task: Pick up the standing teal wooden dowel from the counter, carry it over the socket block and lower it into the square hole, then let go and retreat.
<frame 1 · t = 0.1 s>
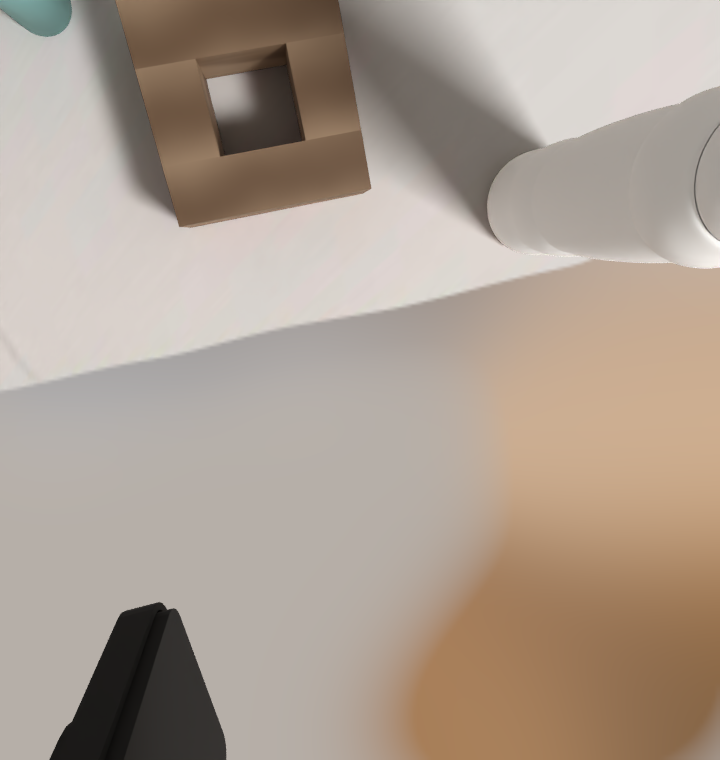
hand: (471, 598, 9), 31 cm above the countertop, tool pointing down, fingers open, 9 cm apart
socket block: (256, 115, 34), on the countertop
water bottle: (528, 204, 38), on the countertop
dowel: (41, 4, 31), on the countertop
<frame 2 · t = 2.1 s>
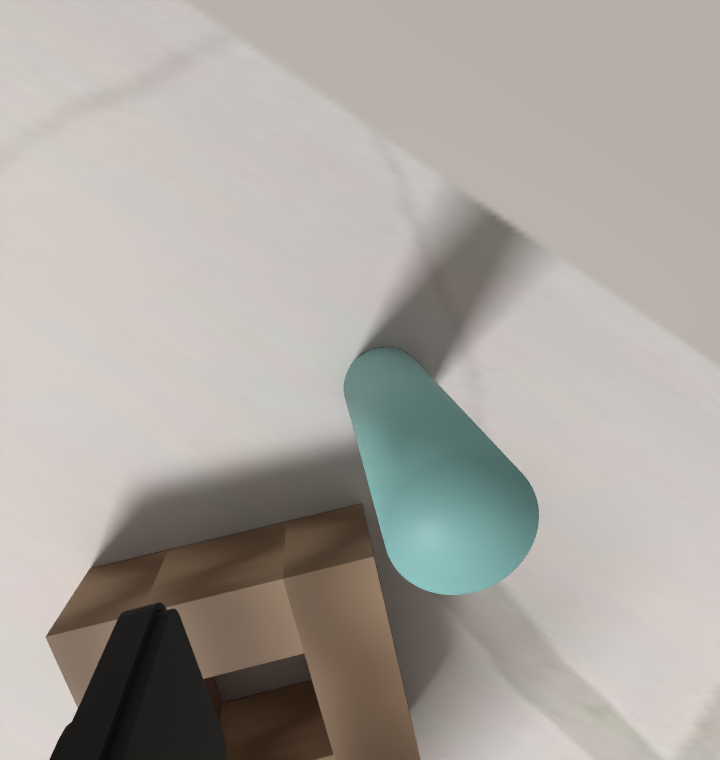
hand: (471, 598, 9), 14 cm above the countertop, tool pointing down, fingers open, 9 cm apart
socket block: (262, 646, 24), on the countertop
dowel: (384, 387, 22), on the countertop
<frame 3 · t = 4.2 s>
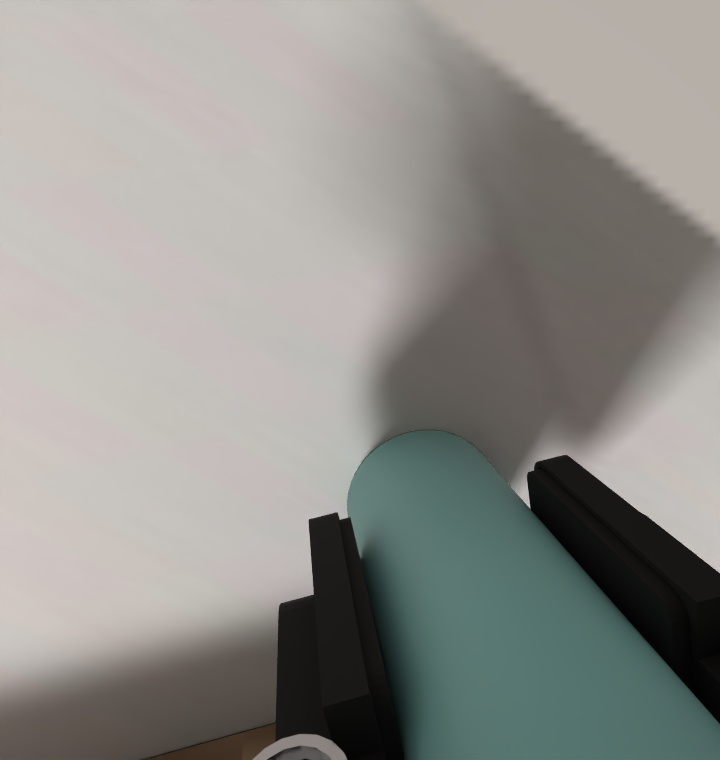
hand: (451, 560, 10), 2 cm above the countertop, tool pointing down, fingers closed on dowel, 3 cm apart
dowel: (422, 500, 12), on the countertop, touching gripper
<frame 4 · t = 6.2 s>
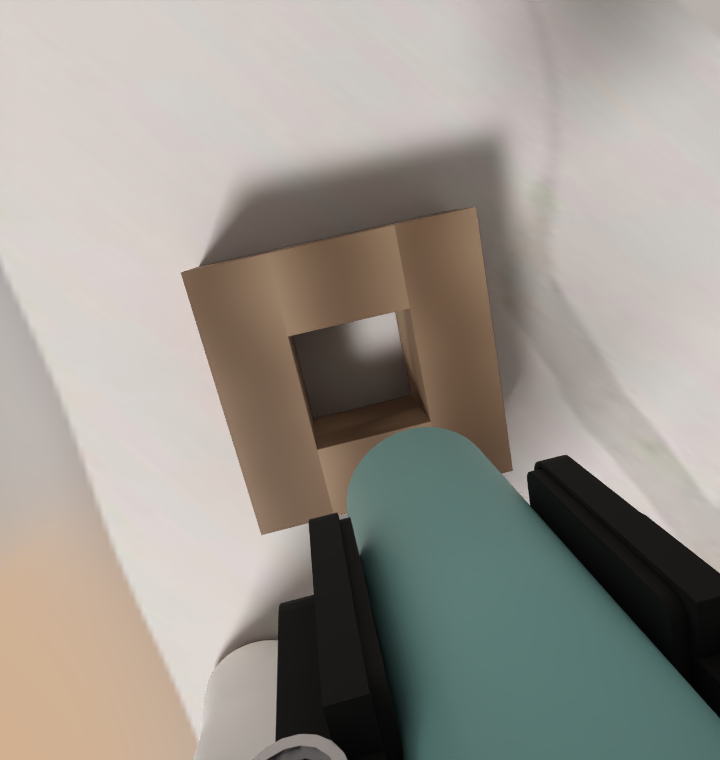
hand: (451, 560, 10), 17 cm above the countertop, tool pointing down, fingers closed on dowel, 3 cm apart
socket block: (352, 359, 26), on the countertop
water bottle: (268, 680, 31), on the countertop
dowel: (421, 497, 12), point 15 cm above the countertop, touching gripper
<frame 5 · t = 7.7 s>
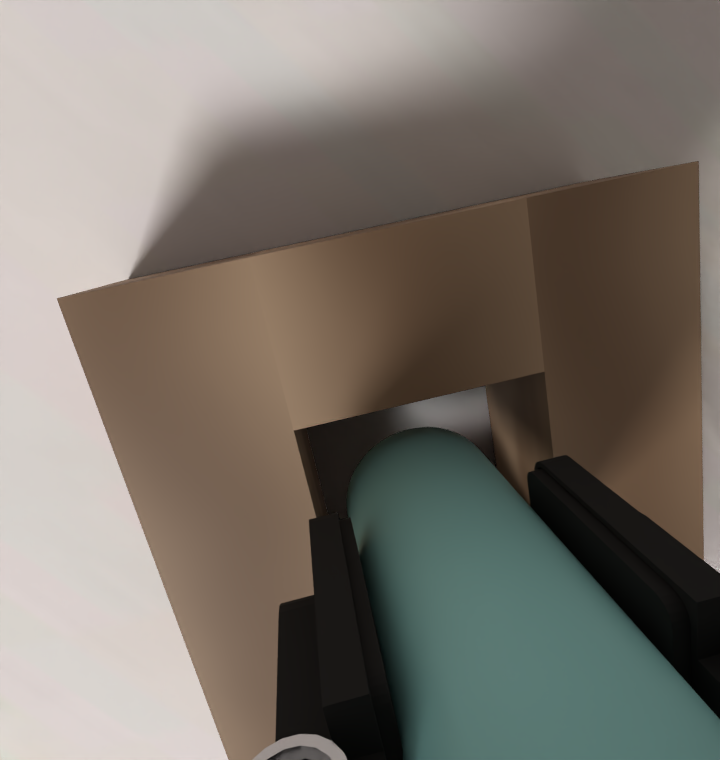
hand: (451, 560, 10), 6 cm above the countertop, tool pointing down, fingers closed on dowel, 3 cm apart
socket block: (403, 442, 15), on the countertop
dowel: (421, 498, 12), point 3 cm above the countertop, touching gripper
when the fingers open (5 cm above the countertop, at t = 8.5 s): dowel drops 2 cm, resting in socket block.
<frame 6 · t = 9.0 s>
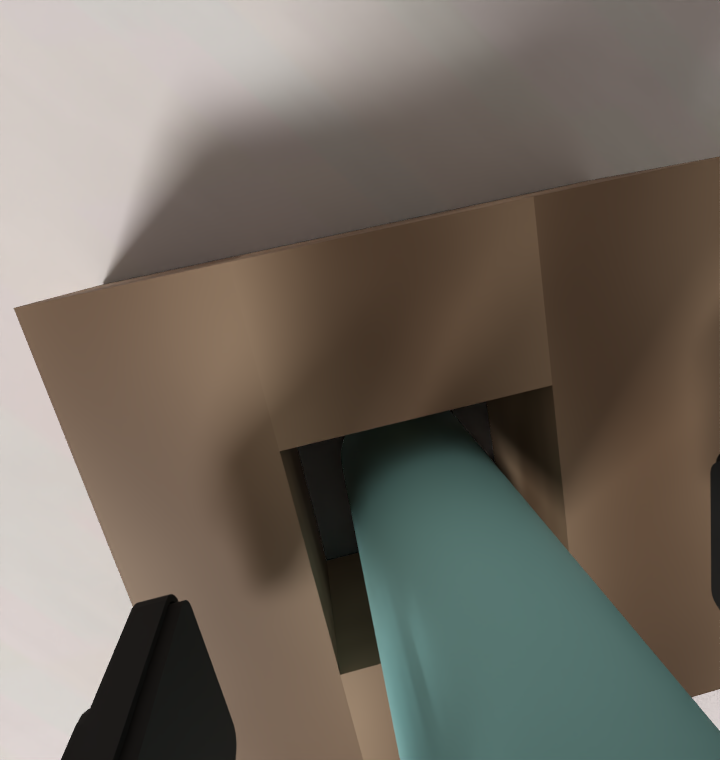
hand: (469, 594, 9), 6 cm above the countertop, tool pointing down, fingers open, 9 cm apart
socket block: (399, 456, 14), on the countertop
dowel: (403, 453, 14), resting in socket block
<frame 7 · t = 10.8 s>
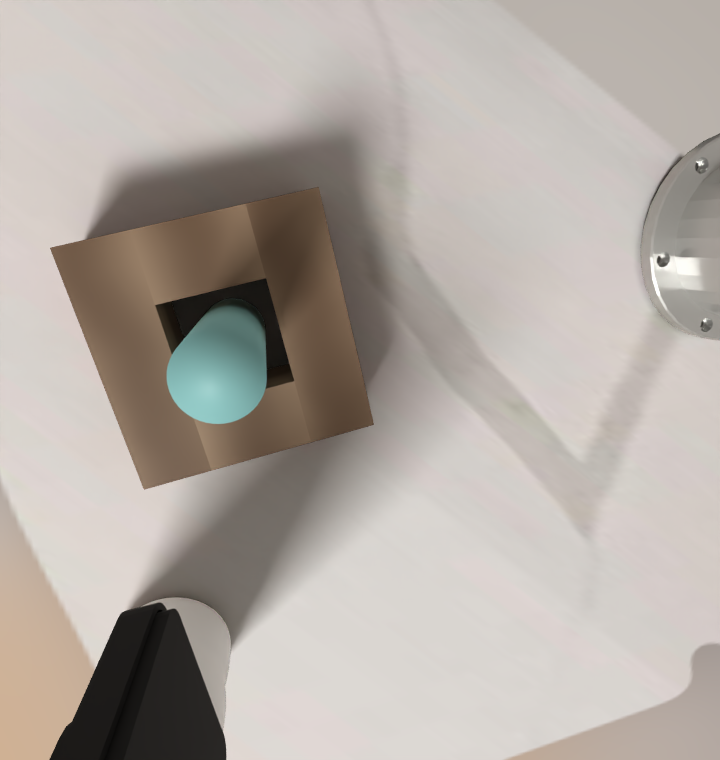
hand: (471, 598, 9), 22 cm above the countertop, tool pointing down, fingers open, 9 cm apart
socket block: (232, 331, 29), on the countertop
water bottle: (174, 637, 33), on the countertop
dowel: (234, 329, 29), resting in socket block
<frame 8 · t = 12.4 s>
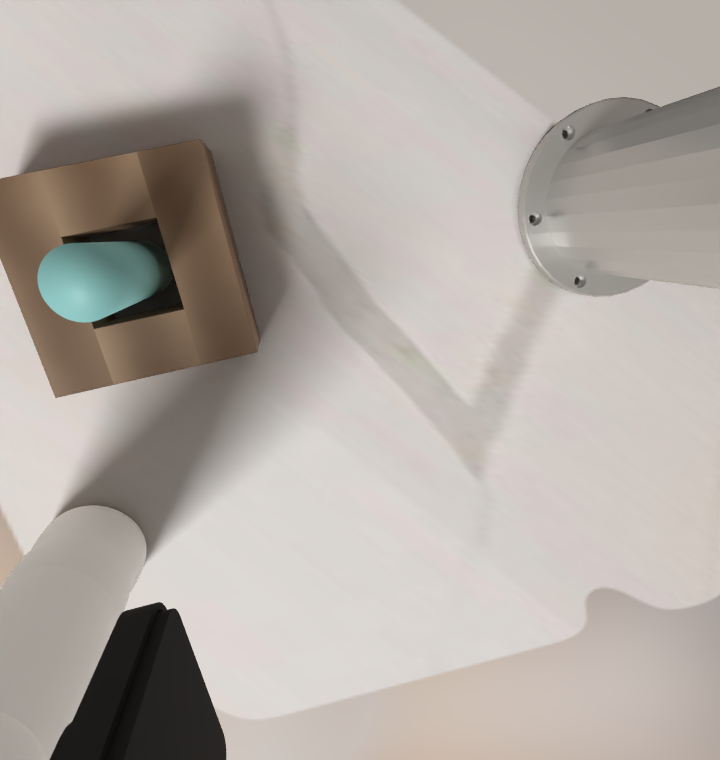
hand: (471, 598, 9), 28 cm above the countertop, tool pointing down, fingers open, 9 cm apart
socket block: (143, 269, 33), on the countertop
water bottle: (99, 543, 38), on the countertop
dowel: (145, 268, 33), resting in socket block
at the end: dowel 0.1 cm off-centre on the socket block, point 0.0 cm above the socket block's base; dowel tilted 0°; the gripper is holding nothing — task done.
